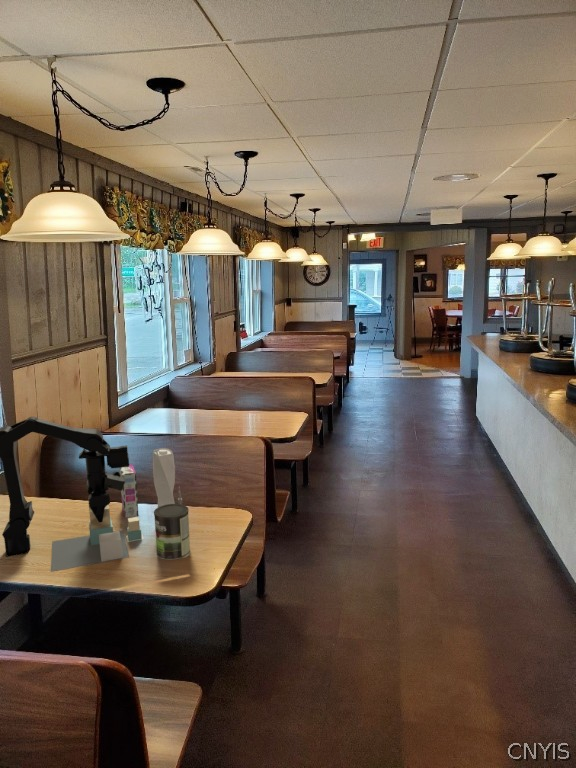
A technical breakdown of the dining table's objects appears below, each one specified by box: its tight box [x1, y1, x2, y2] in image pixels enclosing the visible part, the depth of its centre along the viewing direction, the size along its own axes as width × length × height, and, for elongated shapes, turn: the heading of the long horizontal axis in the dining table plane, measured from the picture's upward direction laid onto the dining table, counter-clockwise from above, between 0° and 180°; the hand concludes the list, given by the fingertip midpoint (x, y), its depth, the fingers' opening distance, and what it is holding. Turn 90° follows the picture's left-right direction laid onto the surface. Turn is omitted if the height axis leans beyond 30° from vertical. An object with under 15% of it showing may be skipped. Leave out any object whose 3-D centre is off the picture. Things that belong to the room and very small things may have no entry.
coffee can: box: [153, 503, 191, 561], centre depth 178 cm, size 10×10×14 cm
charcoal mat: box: [50, 529, 130, 572], centre depth 182 cm, size 22×21×1 cm
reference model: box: [125, 516, 144, 543], centre depth 189 cm, size 5×5×7 cm
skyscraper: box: [152, 447, 183, 508], centre depth 198 cm, size 8×8×28 cm
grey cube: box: [99, 530, 122, 562], centre depth 177 cm, size 6×6×6 cm
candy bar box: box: [119, 464, 139, 519], centre depth 210 cm, size 11×5×16 cm, turn 21°
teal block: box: [88, 518, 114, 545], centre depth 188 cm, size 7×7×5 cm
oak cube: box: [88, 504, 111, 530], centre depth 187 cm, size 6×6×6 cm
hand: (99, 516), depth 188 cm, fingers open, 9 cm apart
